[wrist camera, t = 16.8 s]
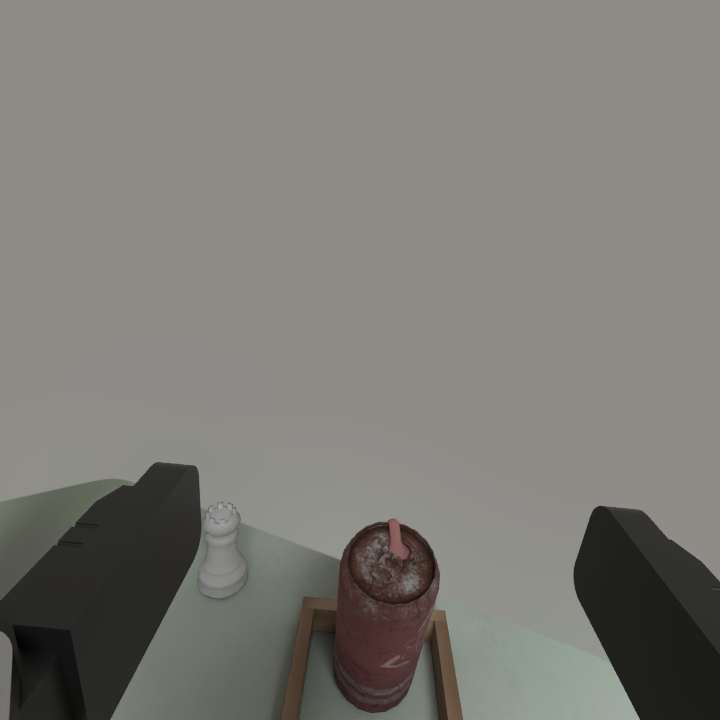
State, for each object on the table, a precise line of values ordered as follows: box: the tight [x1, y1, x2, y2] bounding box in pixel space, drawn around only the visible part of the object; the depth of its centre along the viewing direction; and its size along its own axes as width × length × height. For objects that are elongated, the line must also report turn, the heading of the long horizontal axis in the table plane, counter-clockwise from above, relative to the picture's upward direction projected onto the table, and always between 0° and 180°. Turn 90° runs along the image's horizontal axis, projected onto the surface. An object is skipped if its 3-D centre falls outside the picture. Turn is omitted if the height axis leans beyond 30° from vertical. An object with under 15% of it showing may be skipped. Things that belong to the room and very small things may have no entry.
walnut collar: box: [281, 597, 463, 720], centre depth 31 cm, size 12×12×2 cm
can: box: [334, 519, 440, 713], centre depth 29 cm, size 6×6×14 cm
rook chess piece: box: [198, 502, 248, 599], centre depth 39 cm, size 4×4×8 cm
